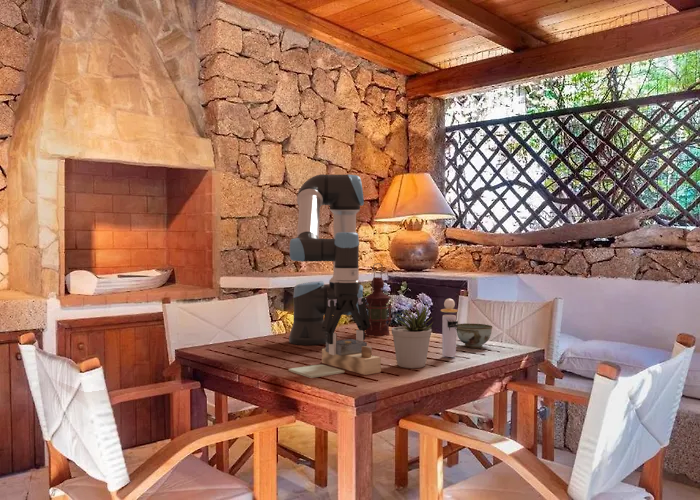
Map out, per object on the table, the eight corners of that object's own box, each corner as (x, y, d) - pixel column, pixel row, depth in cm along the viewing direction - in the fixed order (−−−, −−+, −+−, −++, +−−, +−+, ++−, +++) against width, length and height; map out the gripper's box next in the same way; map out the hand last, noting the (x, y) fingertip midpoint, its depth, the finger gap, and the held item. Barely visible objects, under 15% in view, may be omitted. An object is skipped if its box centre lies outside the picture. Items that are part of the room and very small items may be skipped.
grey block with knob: (325, 351, 190) (325, 340, 190) (351, 348, 196) (351, 337, 196) (341, 355, 184) (341, 344, 184) (366, 351, 190) (366, 341, 190)
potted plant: (405, 372, 182) (405, 305, 182) (384, 363, 195) (384, 301, 194) (441, 368, 187) (441, 304, 187) (418, 360, 200) (419, 299, 199)
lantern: (382, 337, 248) (382, 264, 248) (357, 334, 255) (357, 263, 255) (396, 333, 259) (397, 263, 258) (372, 331, 265) (372, 262, 265)
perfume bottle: (437, 356, 207) (437, 298, 206) (450, 355, 209) (451, 297, 209) (447, 359, 202) (447, 299, 201) (461, 358, 204) (461, 298, 204)
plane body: (321, 362, 195) (321, 333, 195) (336, 360, 199) (336, 331, 199) (365, 374, 178) (365, 342, 178) (380, 372, 182) (380, 340, 181)
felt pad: (288, 370, 183) (288, 368, 183) (321, 366, 190) (321, 364, 190) (311, 378, 173) (311, 375, 173) (344, 372, 181) (344, 370, 181)
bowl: (477, 351, 217) (477, 329, 217) (447, 346, 227) (448, 325, 227) (499, 347, 226) (499, 325, 226) (470, 342, 236) (470, 322, 236)
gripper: (324, 283, 180) (323, 358, 180) (381, 280, 194) (381, 350, 194) (309, 282, 186) (309, 354, 186) (366, 279, 200) (366, 347, 200)
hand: (346, 352), depth 190 cm, fingers closed on grey block with knob, 10 cm apart
